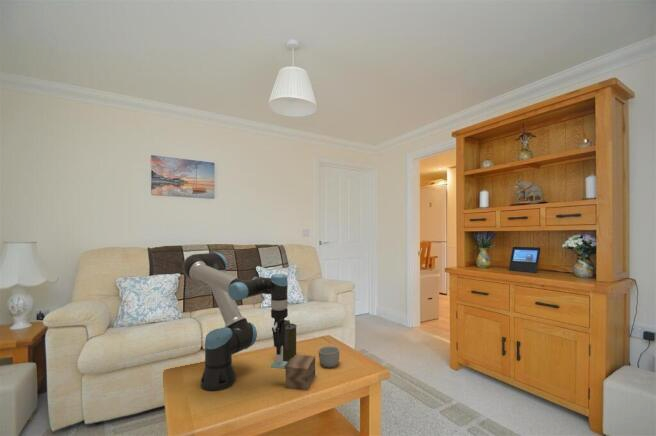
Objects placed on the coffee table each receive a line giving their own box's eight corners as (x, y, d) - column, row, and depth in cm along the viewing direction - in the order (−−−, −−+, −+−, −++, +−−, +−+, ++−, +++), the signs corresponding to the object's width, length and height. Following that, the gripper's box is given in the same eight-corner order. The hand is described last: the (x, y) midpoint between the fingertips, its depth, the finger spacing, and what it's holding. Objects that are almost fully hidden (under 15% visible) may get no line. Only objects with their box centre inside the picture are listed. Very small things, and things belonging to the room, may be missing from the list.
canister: (278, 354, 178) (277, 318, 178) (296, 354, 179) (296, 318, 179) (276, 363, 167) (276, 324, 167) (296, 362, 168) (296, 324, 169)
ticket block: (285, 387, 141) (285, 366, 141) (295, 373, 155) (295, 354, 155) (307, 390, 139) (307, 368, 139) (315, 375, 153) (315, 356, 153)
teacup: (337, 370, 158) (337, 354, 158) (316, 368, 160) (316, 352, 160) (341, 359, 172) (341, 344, 172) (322, 357, 174) (322, 342, 174)
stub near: (270, 367, 143) (270, 365, 143) (274, 363, 148) (274, 360, 148) (285, 369, 142) (285, 366, 142) (289, 364, 147) (289, 361, 147)
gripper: (282, 312, 139) (282, 367, 138) (291, 305, 151) (292, 355, 151) (266, 311, 140) (266, 365, 139) (276, 304, 153) (277, 354, 152)
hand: (279, 360), depth 145 cm, fingers closed
